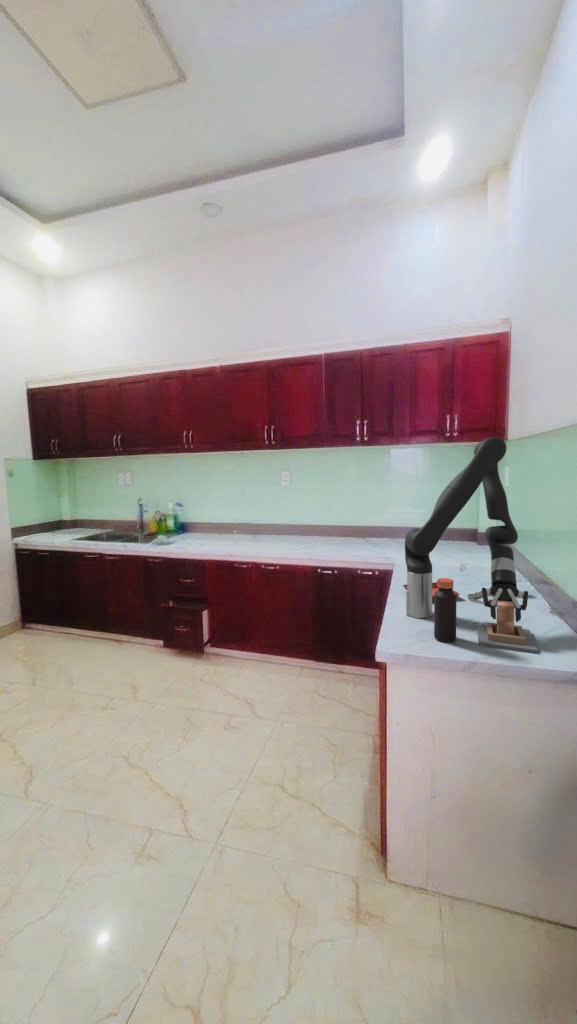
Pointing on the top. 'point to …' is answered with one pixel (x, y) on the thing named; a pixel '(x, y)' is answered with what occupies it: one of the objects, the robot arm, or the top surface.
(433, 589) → the plant saucer
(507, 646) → the socket dock
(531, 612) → the top surface
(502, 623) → the terracotta post
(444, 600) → the bottle
